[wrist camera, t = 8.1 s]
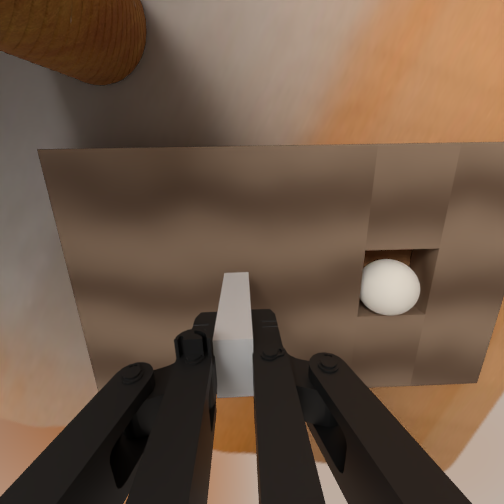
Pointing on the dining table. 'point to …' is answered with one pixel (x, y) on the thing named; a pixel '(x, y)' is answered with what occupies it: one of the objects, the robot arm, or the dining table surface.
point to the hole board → (285, 248)
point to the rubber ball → (389, 287)
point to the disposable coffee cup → (76, 36)
